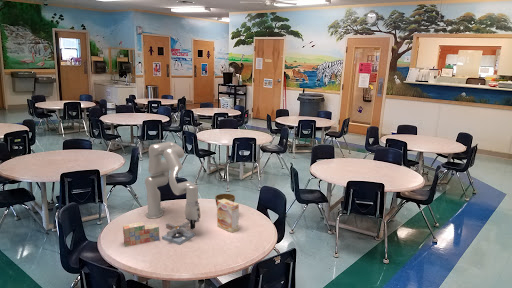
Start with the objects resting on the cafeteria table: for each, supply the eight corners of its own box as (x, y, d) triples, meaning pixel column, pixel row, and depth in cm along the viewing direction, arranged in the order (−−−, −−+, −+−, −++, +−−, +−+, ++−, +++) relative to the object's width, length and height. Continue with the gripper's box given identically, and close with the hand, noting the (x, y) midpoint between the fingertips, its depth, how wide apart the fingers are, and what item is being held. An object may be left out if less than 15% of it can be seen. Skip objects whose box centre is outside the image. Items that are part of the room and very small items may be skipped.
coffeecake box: (216, 226, 263) (216, 200, 258) (224, 223, 268) (224, 198, 264) (231, 233, 253) (231, 206, 248) (238, 230, 258) (239, 203, 254)
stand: (177, 230, 255) (177, 227, 254) (194, 235, 248) (194, 232, 247) (162, 239, 242) (162, 236, 241) (180, 245, 235) (179, 241, 234)
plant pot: (238, 215, 282) (238, 195, 279) (227, 222, 270) (227, 201, 267) (223, 211, 290) (223, 192, 287) (211, 217, 278) (211, 197, 274)
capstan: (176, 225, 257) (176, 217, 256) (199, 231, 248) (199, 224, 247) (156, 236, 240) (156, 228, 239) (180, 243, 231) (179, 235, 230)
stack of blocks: (157, 236, 246) (156, 219, 244) (159, 240, 241) (158, 222, 238) (123, 242, 237) (122, 224, 234) (125, 246, 231) (124, 228, 229)
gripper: (204, 203, 244) (205, 228, 248) (186, 199, 251) (187, 224, 255) (197, 206, 237) (198, 233, 241) (179, 202, 244) (180, 228, 248)
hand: (192, 228), depth 248 cm, fingers closed
